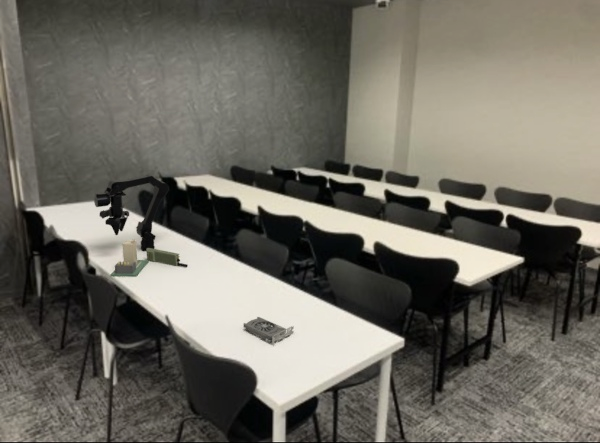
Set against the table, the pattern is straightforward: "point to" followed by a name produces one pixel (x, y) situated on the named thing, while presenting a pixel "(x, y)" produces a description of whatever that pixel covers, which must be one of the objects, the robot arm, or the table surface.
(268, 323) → the graphics card
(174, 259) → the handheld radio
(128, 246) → the plug
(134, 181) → the robot arm
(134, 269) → the board
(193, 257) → the table surface
